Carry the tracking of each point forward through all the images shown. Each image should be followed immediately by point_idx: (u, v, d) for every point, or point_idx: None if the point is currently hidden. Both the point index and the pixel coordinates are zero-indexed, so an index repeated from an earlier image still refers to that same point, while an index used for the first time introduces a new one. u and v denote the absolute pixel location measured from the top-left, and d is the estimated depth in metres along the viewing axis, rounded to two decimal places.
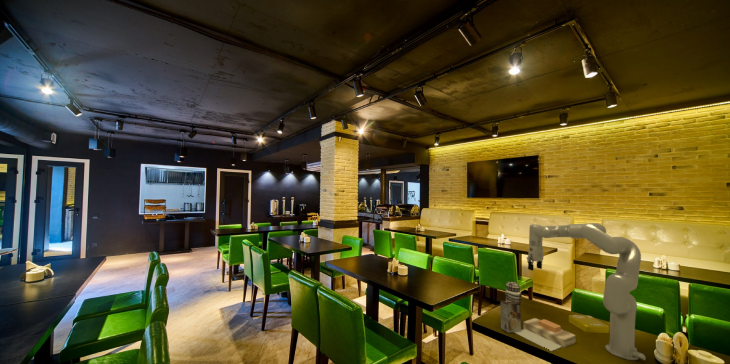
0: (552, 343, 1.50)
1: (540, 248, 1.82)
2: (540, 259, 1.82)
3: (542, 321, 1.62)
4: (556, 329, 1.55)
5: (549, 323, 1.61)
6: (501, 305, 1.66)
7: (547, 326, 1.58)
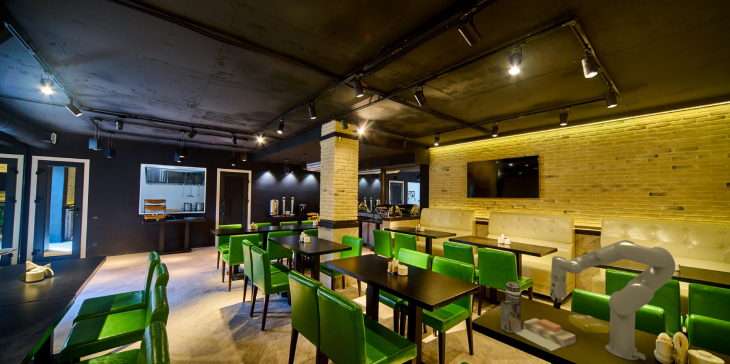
0: (552, 343, 1.50)
1: (564, 283, 1.63)
2: (563, 296, 1.63)
3: (542, 321, 1.62)
4: (556, 329, 1.55)
5: (549, 323, 1.61)
6: (501, 305, 1.66)
7: (547, 326, 1.58)
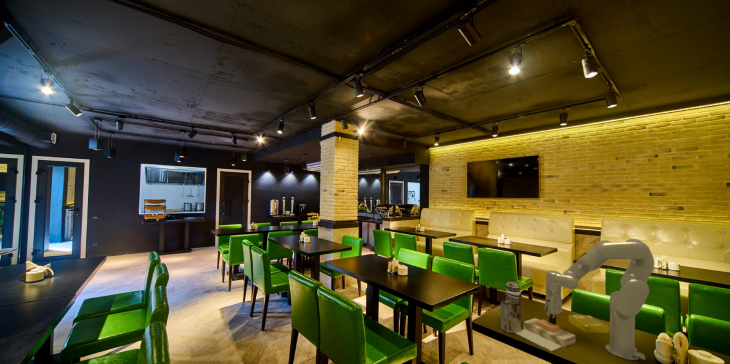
0: (552, 343, 1.50)
1: (559, 299, 1.60)
2: (559, 311, 1.60)
3: (540, 321, 1.62)
4: (554, 329, 1.55)
5: (547, 323, 1.60)
6: (501, 305, 1.66)
7: (545, 326, 1.58)
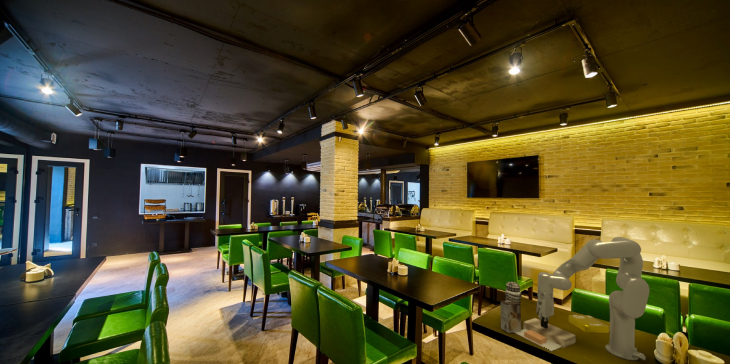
0: (552, 343, 1.50)
1: (550, 301, 1.56)
2: (550, 314, 1.56)
3: None
4: (545, 340, 1.51)
5: None
6: (501, 305, 1.66)
7: None
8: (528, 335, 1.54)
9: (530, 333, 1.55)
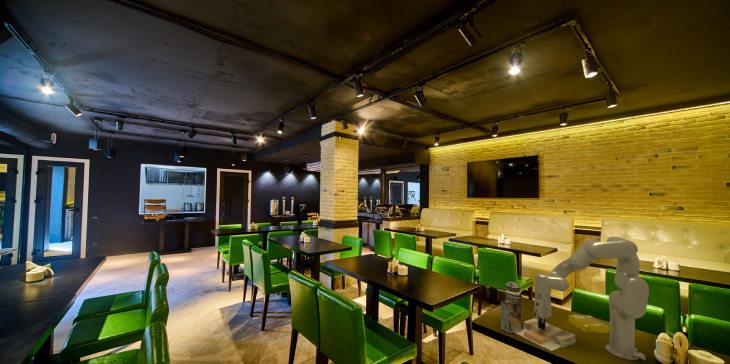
0: (552, 343, 1.50)
1: (548, 302, 1.54)
2: (548, 315, 1.54)
3: None
4: (545, 340, 1.51)
5: None
6: (501, 305, 1.66)
7: None
8: (528, 335, 1.54)
9: (530, 333, 1.55)
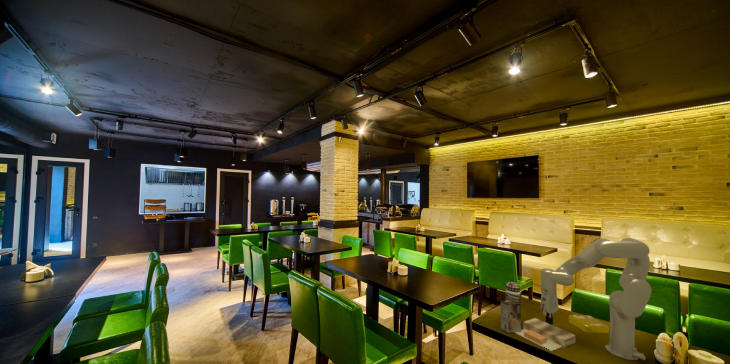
0: (552, 343, 1.50)
1: (554, 297, 1.57)
2: (555, 310, 1.57)
3: None
4: (545, 340, 1.51)
5: None
6: (501, 305, 1.66)
7: None
8: (528, 335, 1.54)
9: (530, 333, 1.55)
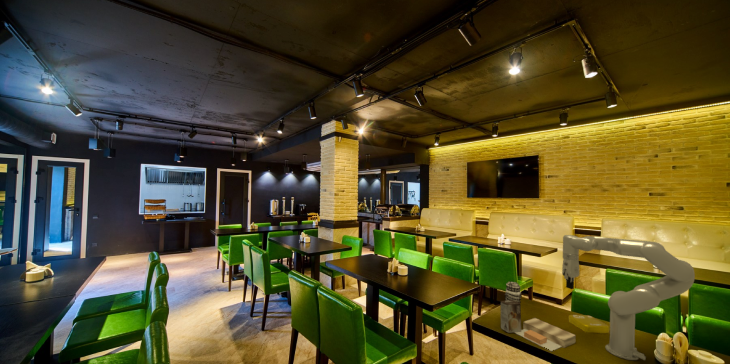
0: (552, 343, 1.50)
1: (576, 262, 1.60)
2: (576, 275, 1.59)
3: None
4: (545, 340, 1.51)
5: None
6: (501, 305, 1.66)
7: None
8: (528, 335, 1.54)
9: (530, 333, 1.55)
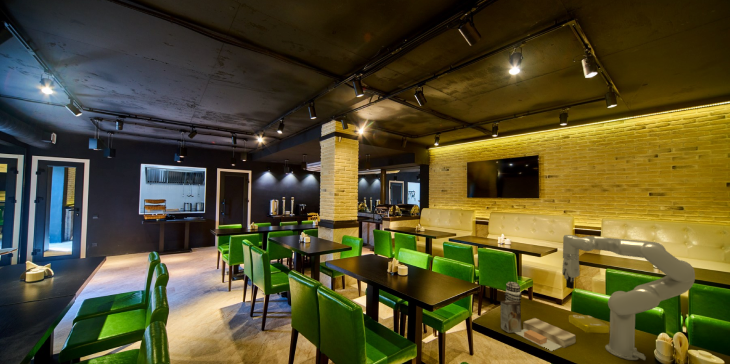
0: (552, 343, 1.50)
1: (576, 262, 1.60)
2: (576, 275, 1.59)
3: None
4: (545, 340, 1.51)
5: None
6: (501, 305, 1.66)
7: None
8: (528, 335, 1.54)
9: (530, 333, 1.55)
